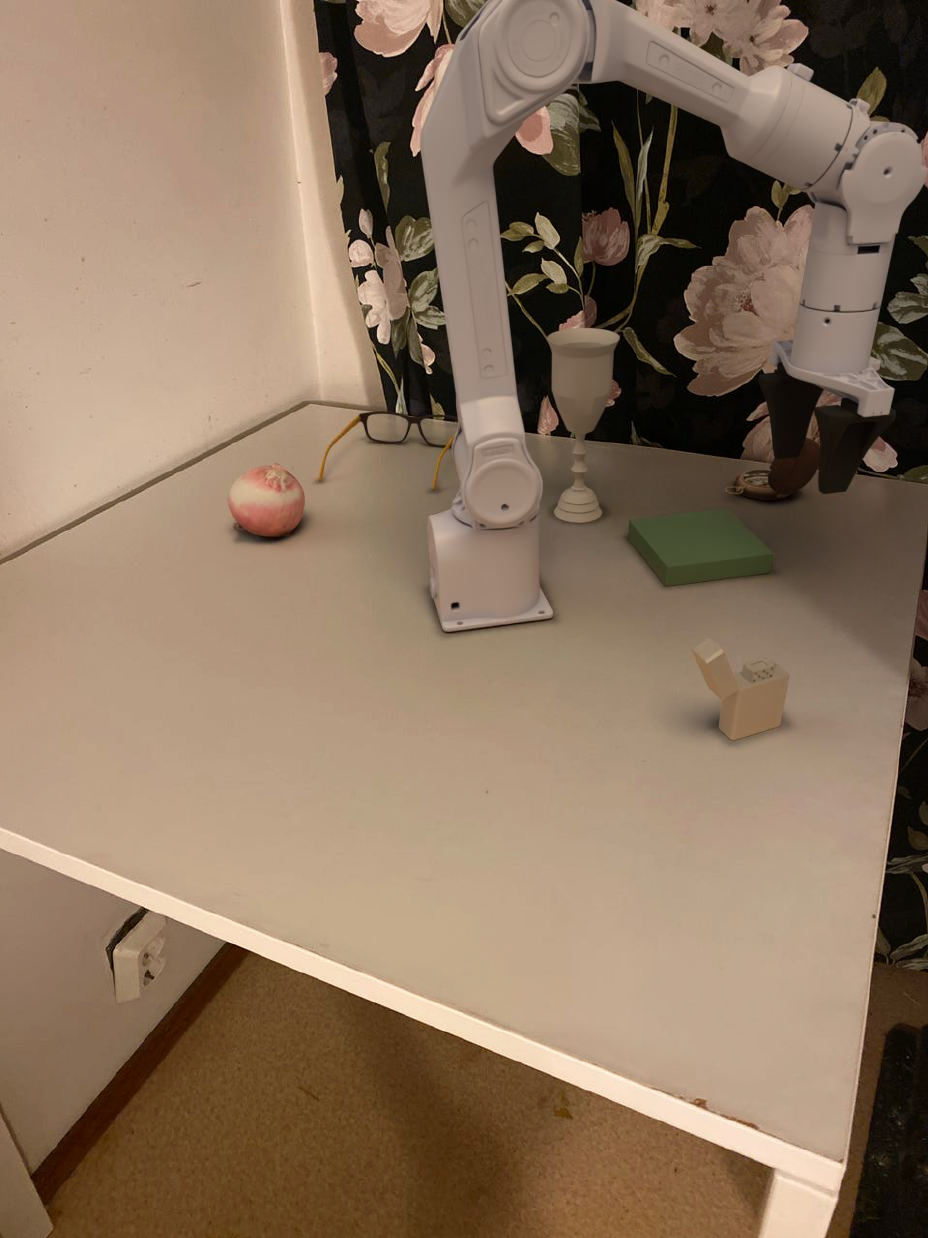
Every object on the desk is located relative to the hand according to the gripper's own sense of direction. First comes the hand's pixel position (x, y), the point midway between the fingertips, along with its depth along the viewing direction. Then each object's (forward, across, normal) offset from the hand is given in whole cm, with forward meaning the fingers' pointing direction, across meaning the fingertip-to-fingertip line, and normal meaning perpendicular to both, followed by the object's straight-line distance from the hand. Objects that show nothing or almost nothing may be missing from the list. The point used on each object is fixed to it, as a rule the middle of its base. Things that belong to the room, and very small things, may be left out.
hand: (808, 473), depth 72 cm
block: (+10, +6, +6) cm, 13 cm away
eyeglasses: (+10, +37, +31) cm, 50 cm away
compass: (+10, +17, -6) cm, 21 cm away
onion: (+10, +22, +46) cm, 52 cm away
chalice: (+10, +18, +14) cm, 25 cm away
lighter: (+10, -19, +14) cm, 26 cm away
